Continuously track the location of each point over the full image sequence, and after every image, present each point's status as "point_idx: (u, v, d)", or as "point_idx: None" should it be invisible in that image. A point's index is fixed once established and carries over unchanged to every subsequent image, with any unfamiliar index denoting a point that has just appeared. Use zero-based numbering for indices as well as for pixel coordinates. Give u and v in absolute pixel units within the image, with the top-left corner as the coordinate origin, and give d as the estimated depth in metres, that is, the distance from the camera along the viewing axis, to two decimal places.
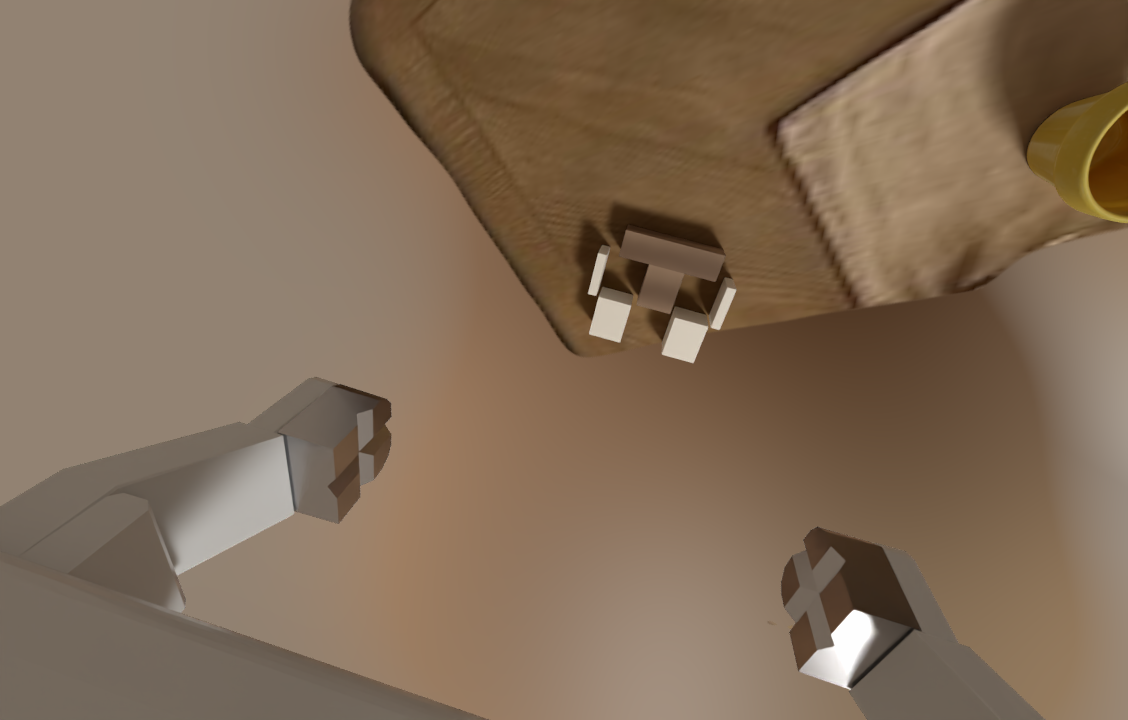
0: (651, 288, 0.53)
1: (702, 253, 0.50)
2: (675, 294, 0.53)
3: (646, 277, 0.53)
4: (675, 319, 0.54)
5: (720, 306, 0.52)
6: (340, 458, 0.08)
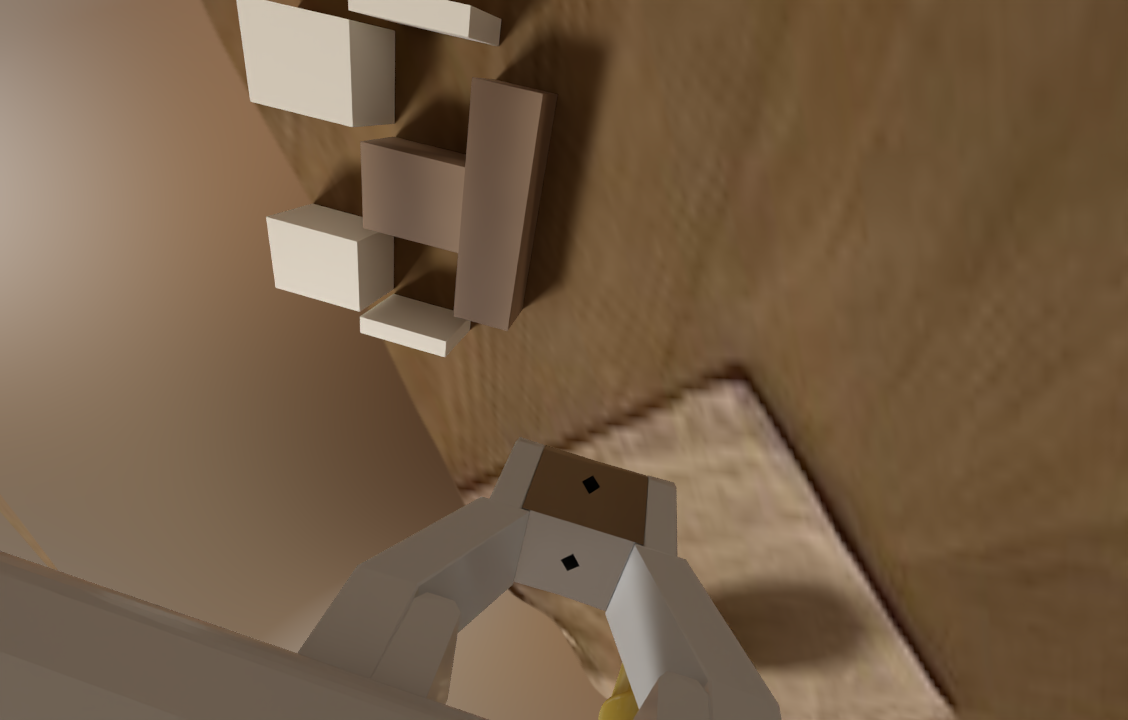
0: (409, 179, 0.22)
1: (507, 287, 0.23)
2: (409, 236, 0.23)
3: (432, 162, 0.21)
4: (353, 243, 0.23)
5: (406, 331, 0.25)
6: None
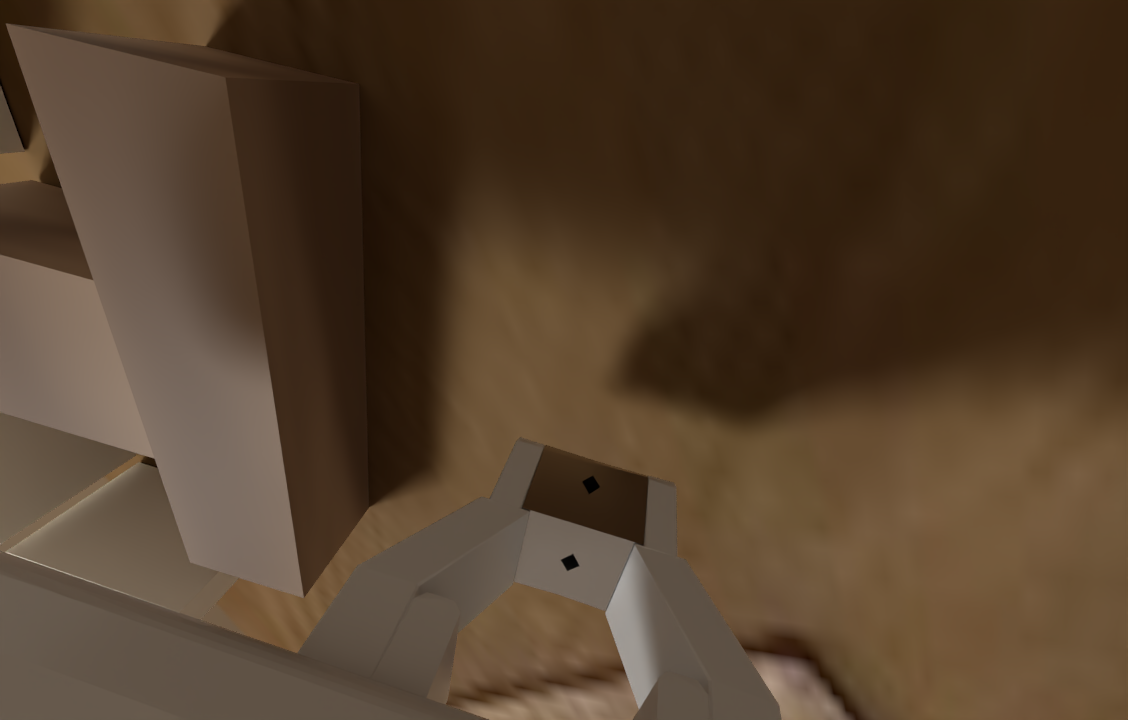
0: None
1: (279, 528, 0.10)
2: (41, 419, 0.10)
3: (13, 265, 0.08)
4: None
5: None
6: None
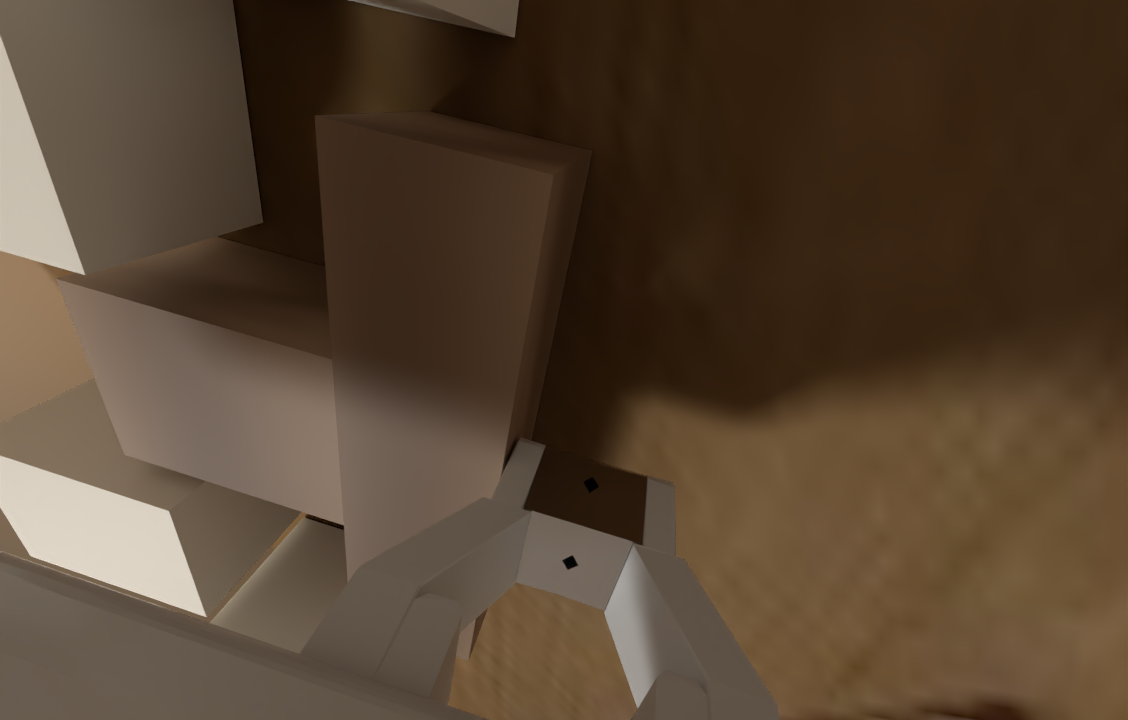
0: (198, 372, 0.08)
1: None
2: (228, 482, 0.10)
3: (246, 341, 0.08)
4: (161, 512, 0.10)
5: None
6: None
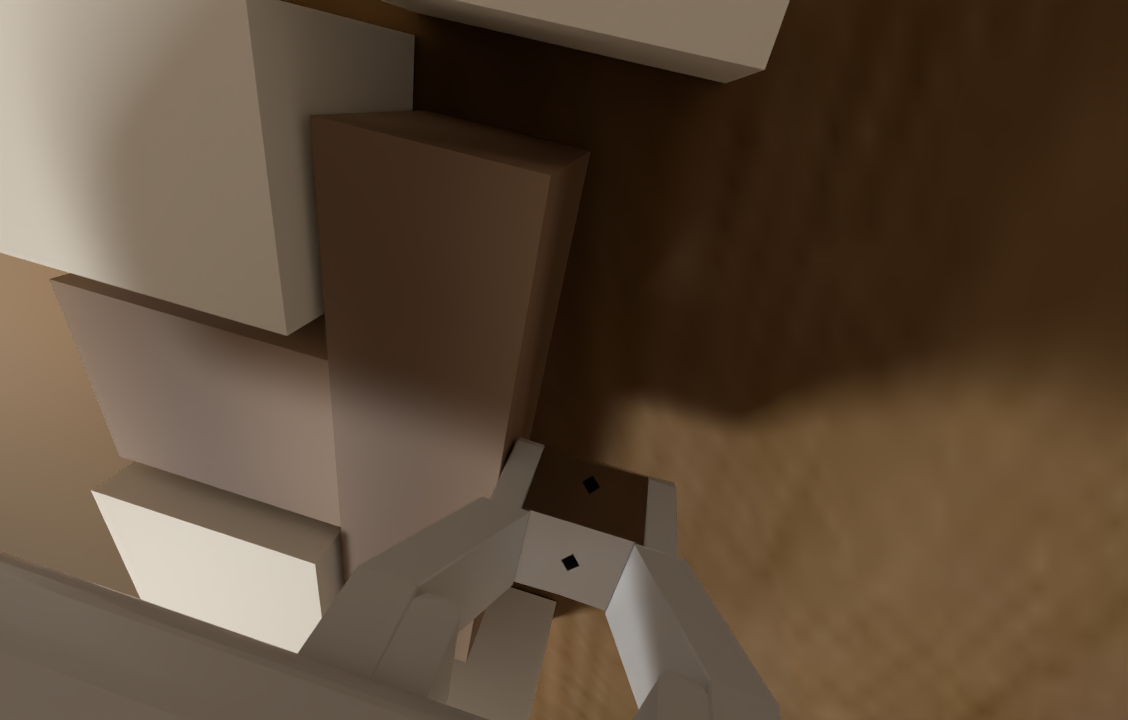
0: (194, 373, 0.08)
1: None
2: (224, 484, 0.10)
3: (241, 342, 0.08)
4: (306, 564, 0.09)
5: None
6: None
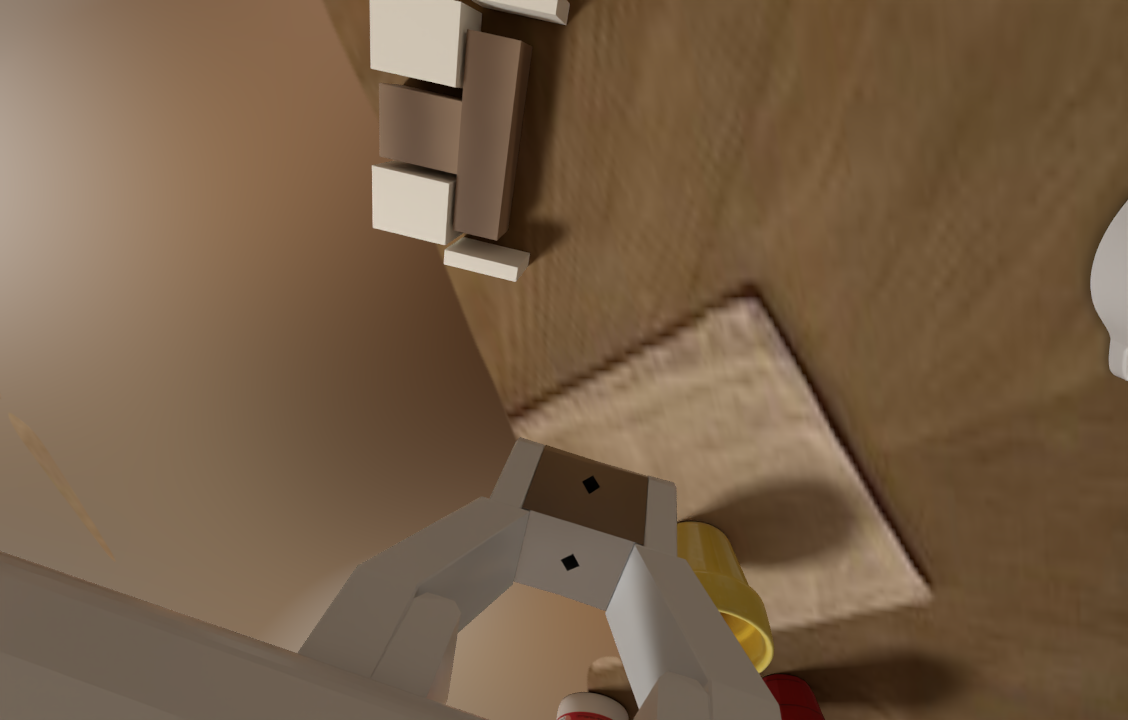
0: (418, 113, 0.28)
1: (496, 201, 0.29)
2: (417, 162, 0.29)
3: (436, 98, 0.27)
4: (445, 185, 0.29)
5: (484, 260, 0.31)
6: None
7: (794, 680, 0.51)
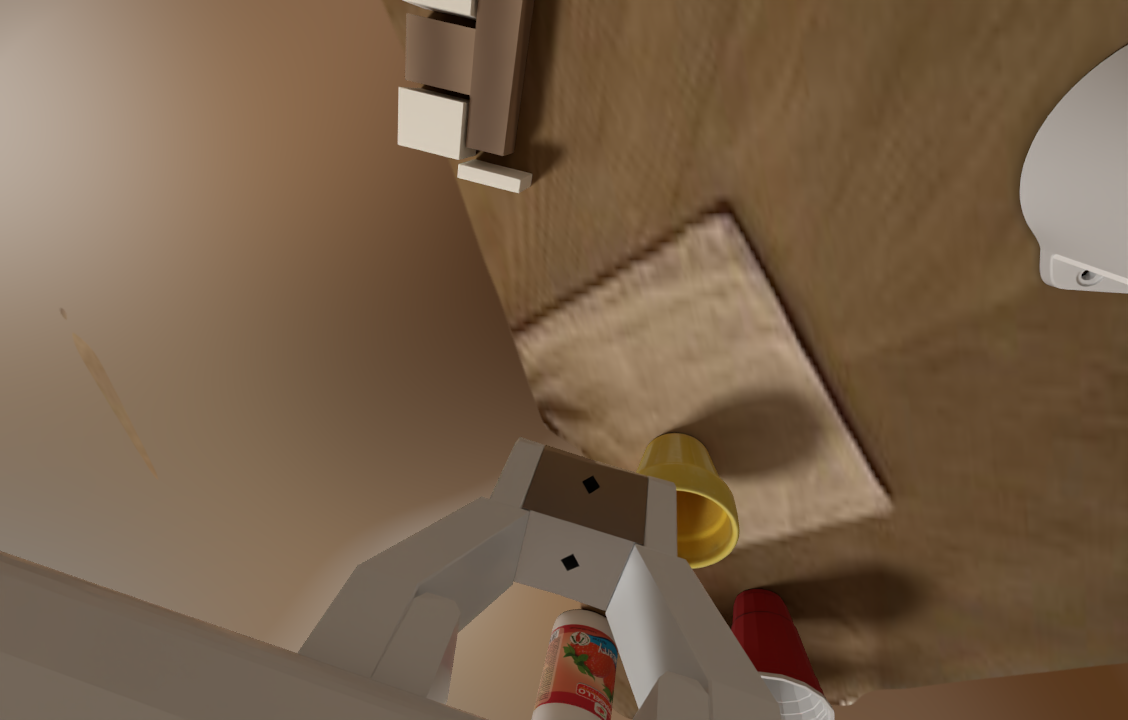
0: (438, 39, 0.33)
1: (503, 120, 0.34)
2: (436, 84, 0.34)
3: (454, 26, 0.32)
4: (460, 104, 0.34)
5: (491, 173, 0.36)
6: None
7: (769, 593, 0.55)
